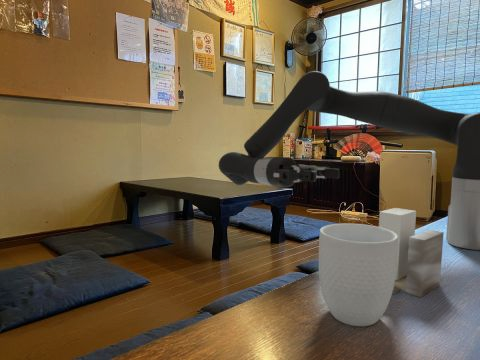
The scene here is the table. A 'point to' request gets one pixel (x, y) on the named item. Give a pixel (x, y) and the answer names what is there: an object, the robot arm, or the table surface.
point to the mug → (357, 271)
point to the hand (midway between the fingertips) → (327, 175)
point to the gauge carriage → (399, 233)
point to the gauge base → (422, 264)
